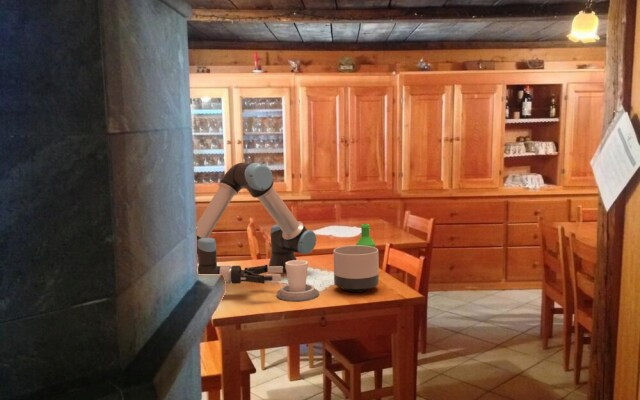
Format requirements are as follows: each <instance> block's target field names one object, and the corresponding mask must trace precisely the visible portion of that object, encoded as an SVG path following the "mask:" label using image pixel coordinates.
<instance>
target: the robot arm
mask: <svg viewBox="0 0 640 400" xmlns="http://www.w3.org/2000/svg"><path fill="white" fill-rule="evenodd" d="M273 176H274V175H273V172H272V170H271V169H270V168H269V166H267V165H266V164H264V163H260V162H238V163H236V164H234V165H232V166H231V167H230V168H229V169H228V170H227V172H226V173H225V174H224V175H223V176H222V178H221V179H220V181H219V183H218V188H217V190H216V192H215V194H214V195H213V197H212V198H211V200H210V201H209V203H208V205H207V207H206V208H205V209H204V211H203V213H202V215H201V216H200V218H199V219H198V221H197V222H196V224H197V254H198V266H197V267H198V274H222V275H223V276H224V278H225V281H226V285H229V284H232V285H234V284H235V285H236V284H241V283H243V282H246V283H248V282H249V283H256V284H262V285H263V284H265V283H266V282H281V279H282V276H281V274H283V273H286V274H287V272H286V268H285V263H286V262H288V261H292V260H297V257H296V254H303V255H307V254H310V253H311V252H312V251H314V249H315V247H316V245H317V236H316V235H317V234H316V233H315V231H313V230H311V229H308V228H307V227H306V226H305V224H304V223H303V222H302V221H300V220H299V221H298V220H297V218H296V217H295V216H294V214H293V213H292V211H291V210H290V209H289V207H288V206H287V205H286V203H285V202H284V200H283V199H282V198H281V196H280V195H279V193H278V192H277V190H276V189H275V188H274V178H273ZM242 189H246V190H247V192H248V193H249V194H250V196H251V197H253V198H257V199H258V201H259V202H260V203H261V205H262V206H263V207H264V209H265V211H267V213H268V214H269V215H270V217H271V218H272V219H273V221H274V223H275V224H274V225H272V226H271V227H270V233H269V234H270V249H271V251H270V252H271V254H270V255H271V256H270V260H269V263H268V264H264V265H258V266H251V267H244V269H242V267H241V265H232V266H231V265H218V263H217V258H218V257H217V244H216V239H215V238H213V237H210V235H211V233H212V232H213V230H214V229H215V227H216V225H217V224H218V222H219V221H220V219H221V217H222V215H223V214H224V213H225V211H226V210H227V207H228V205H229V204H230V202H231V201H232V200H233V197H234V196H237V195H238V194H239V192H240V191H241V190H242ZM295 253H296V254H295ZM265 273H267V274H265Z"/></svg>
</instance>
